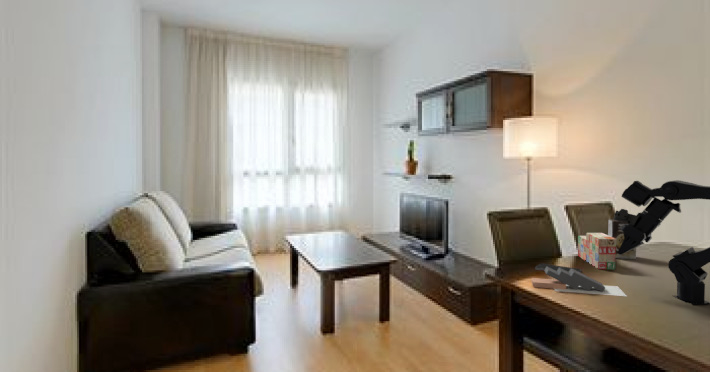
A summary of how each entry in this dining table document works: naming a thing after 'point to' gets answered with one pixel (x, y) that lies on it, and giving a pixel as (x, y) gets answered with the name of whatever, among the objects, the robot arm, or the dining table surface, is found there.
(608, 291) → the white mat
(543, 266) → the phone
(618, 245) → the coffee box
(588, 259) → the stack of blocks
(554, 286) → the terracotta domino
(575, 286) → the domino
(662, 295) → the dining table surface
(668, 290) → the dining table surface
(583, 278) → the domino
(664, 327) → the dining table surface
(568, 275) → the domino
